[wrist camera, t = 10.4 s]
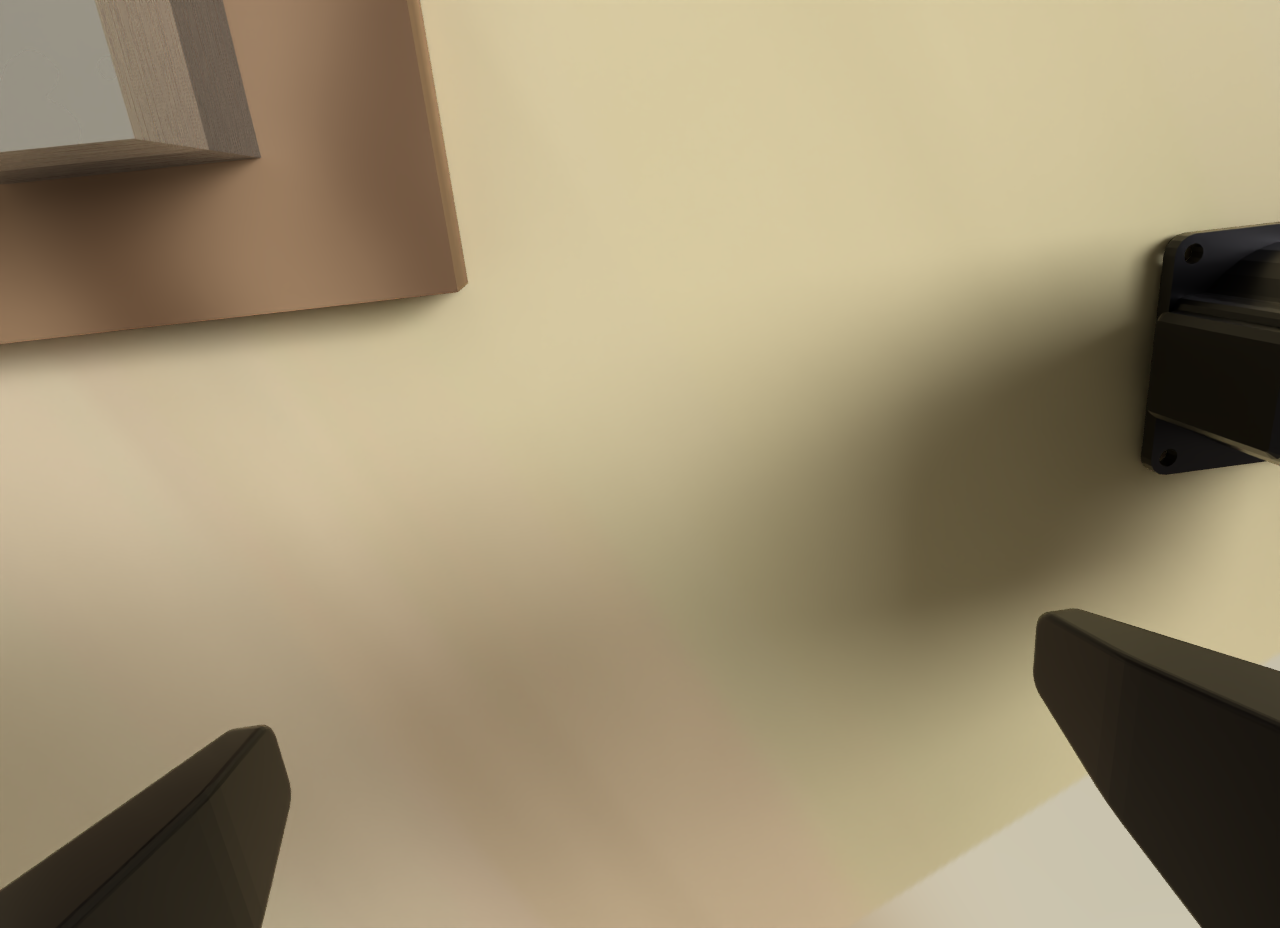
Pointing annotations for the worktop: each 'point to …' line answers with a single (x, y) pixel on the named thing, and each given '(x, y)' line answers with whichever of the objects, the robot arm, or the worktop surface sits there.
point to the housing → (118, 88)
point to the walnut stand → (257, 193)
